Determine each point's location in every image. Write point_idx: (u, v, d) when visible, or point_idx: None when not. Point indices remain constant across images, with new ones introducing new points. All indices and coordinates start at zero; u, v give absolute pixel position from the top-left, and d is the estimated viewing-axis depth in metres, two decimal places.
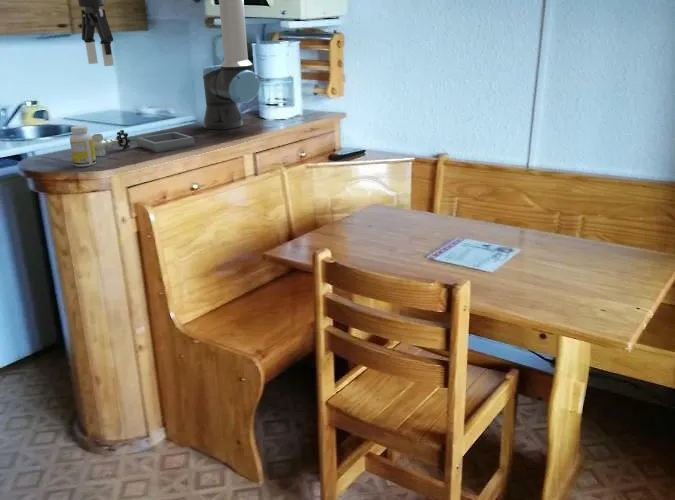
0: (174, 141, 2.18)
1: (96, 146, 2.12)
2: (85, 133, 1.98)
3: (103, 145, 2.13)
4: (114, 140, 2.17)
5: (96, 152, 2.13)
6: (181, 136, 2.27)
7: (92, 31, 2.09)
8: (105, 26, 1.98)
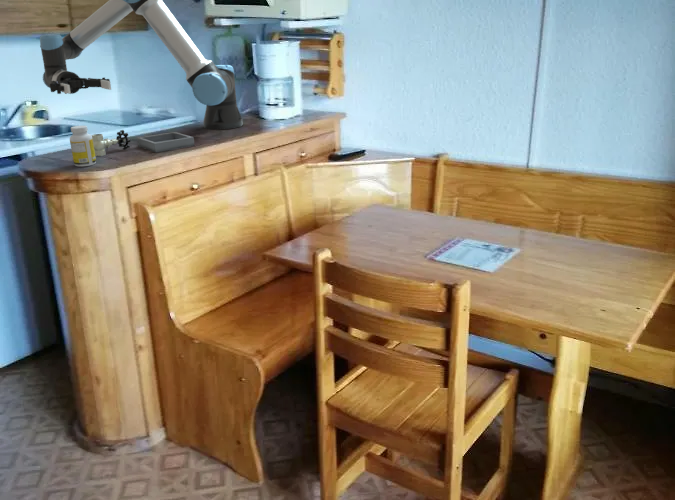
0: (174, 141, 2.18)
1: (96, 146, 2.12)
2: (85, 133, 1.98)
3: (103, 145, 2.13)
4: (114, 140, 2.17)
5: (96, 152, 2.13)
6: (181, 136, 2.27)
7: (91, 81, 2.26)
8: None
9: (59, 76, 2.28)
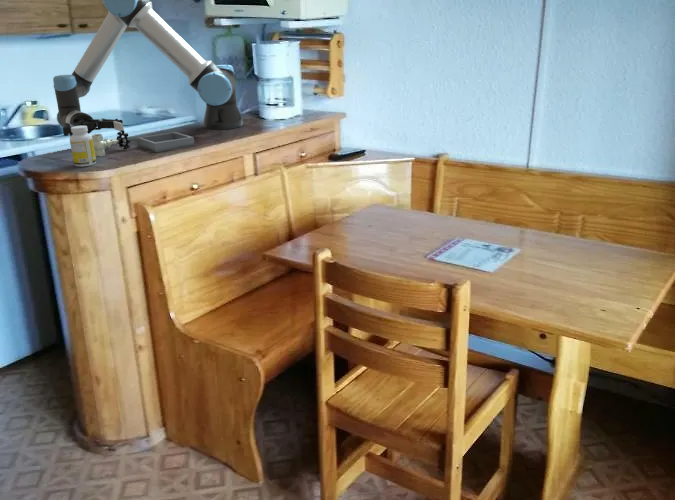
0: (174, 141, 2.18)
1: (96, 146, 2.11)
2: (85, 133, 1.98)
3: (103, 146, 2.12)
4: (114, 140, 2.17)
5: (96, 152, 2.12)
6: (181, 136, 2.27)
7: (104, 123, 2.26)
8: None
9: (72, 118, 2.27)
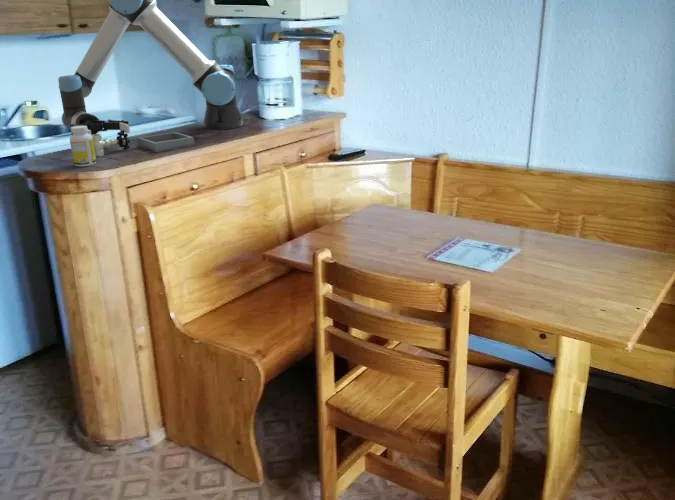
0: (174, 141, 2.18)
1: (94, 146, 2.11)
2: (85, 133, 1.98)
3: (101, 146, 2.12)
4: (113, 140, 2.16)
5: None
6: (181, 136, 2.27)
7: (110, 124, 2.22)
8: None
9: (78, 119, 2.24)
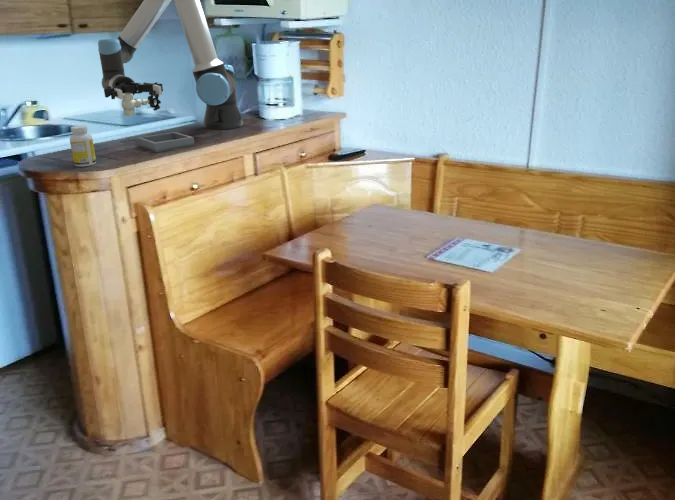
0: (174, 141, 2.18)
1: (125, 105, 2.10)
2: (85, 133, 1.98)
3: (132, 105, 2.11)
4: (145, 100, 2.15)
5: (125, 111, 2.12)
6: (181, 136, 2.27)
7: (144, 86, 2.22)
8: None
9: (114, 81, 2.25)
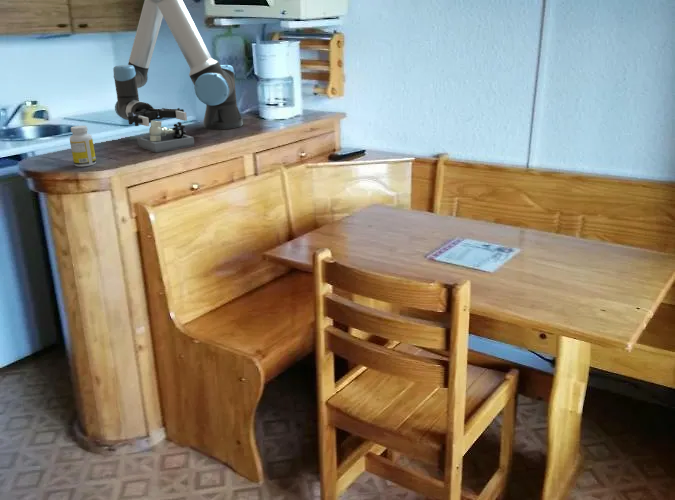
0: (174, 141, 2.18)
1: (153, 131, 2.16)
2: (85, 133, 1.98)
3: (160, 132, 2.18)
4: (171, 130, 2.22)
5: (152, 137, 2.17)
6: None
7: (166, 112, 2.28)
8: None
9: (134, 107, 2.30)
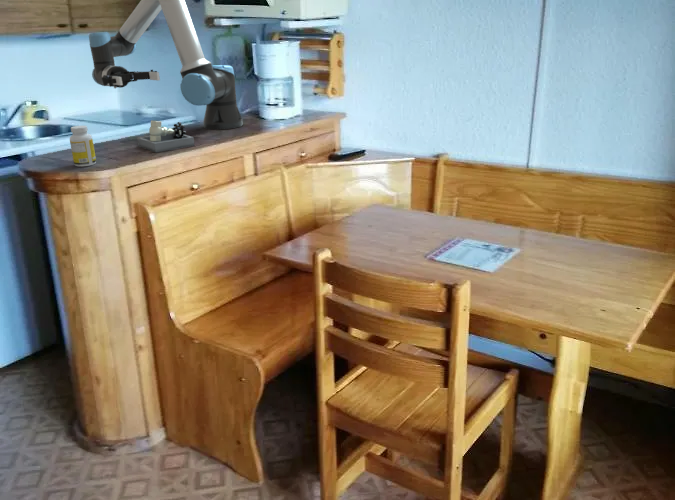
0: (174, 141, 2.18)
1: (153, 131, 2.16)
2: (85, 133, 1.98)
3: (160, 132, 2.18)
4: (171, 130, 2.22)
5: (152, 137, 2.17)
6: None
7: (140, 74, 2.35)
8: None
9: (109, 71, 2.37)
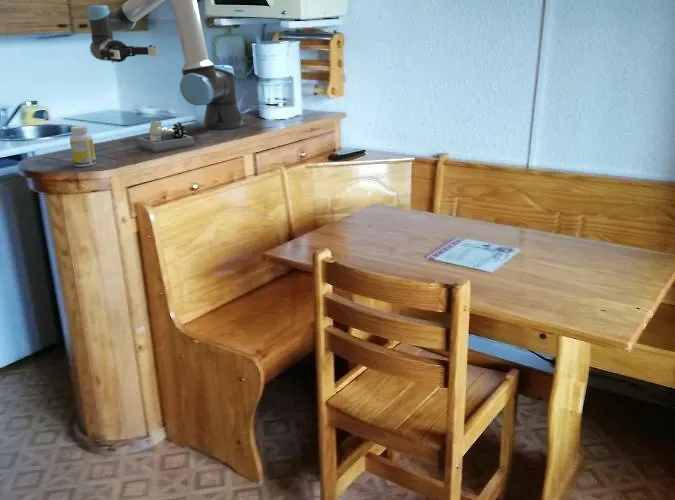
0: (174, 141, 2.18)
1: (153, 131, 2.16)
2: (85, 133, 1.98)
3: (160, 132, 2.18)
4: (171, 130, 2.22)
5: (152, 137, 2.17)
6: None
7: (138, 49, 2.33)
8: None
9: (107, 45, 2.34)
